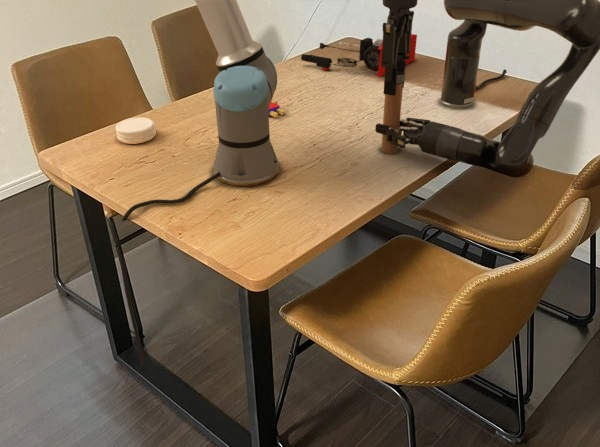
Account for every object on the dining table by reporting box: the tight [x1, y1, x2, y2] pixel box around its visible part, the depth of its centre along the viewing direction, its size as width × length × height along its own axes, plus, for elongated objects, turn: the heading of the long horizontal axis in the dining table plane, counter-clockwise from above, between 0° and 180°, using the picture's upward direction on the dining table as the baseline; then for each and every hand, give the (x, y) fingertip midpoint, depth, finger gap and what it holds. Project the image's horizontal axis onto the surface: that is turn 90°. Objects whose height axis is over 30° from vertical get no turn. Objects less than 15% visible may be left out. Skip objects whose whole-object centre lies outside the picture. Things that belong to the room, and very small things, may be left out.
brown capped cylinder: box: [381, 82, 404, 154], centre depth 149 cm, size 4×4×19 cm
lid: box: [384, 69, 406, 83], centre depth 144 cm, size 5×5×2 cm
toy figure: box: [269, 100, 286, 118], centre depth 176 cm, size 2×7×12 cm
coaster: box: [114, 116, 157, 145], centre depth 162 cm, size 10×10×4 cm
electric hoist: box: [300, 33, 418, 78], centre depth 210 cm, size 10×27×30 cm
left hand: (393, 90), depth 146 cm, fingers closed on lid, 5 cm apart
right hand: (381, 124), depth 153 cm, fingers closed on brown capped cylinder, 4 cm apart
